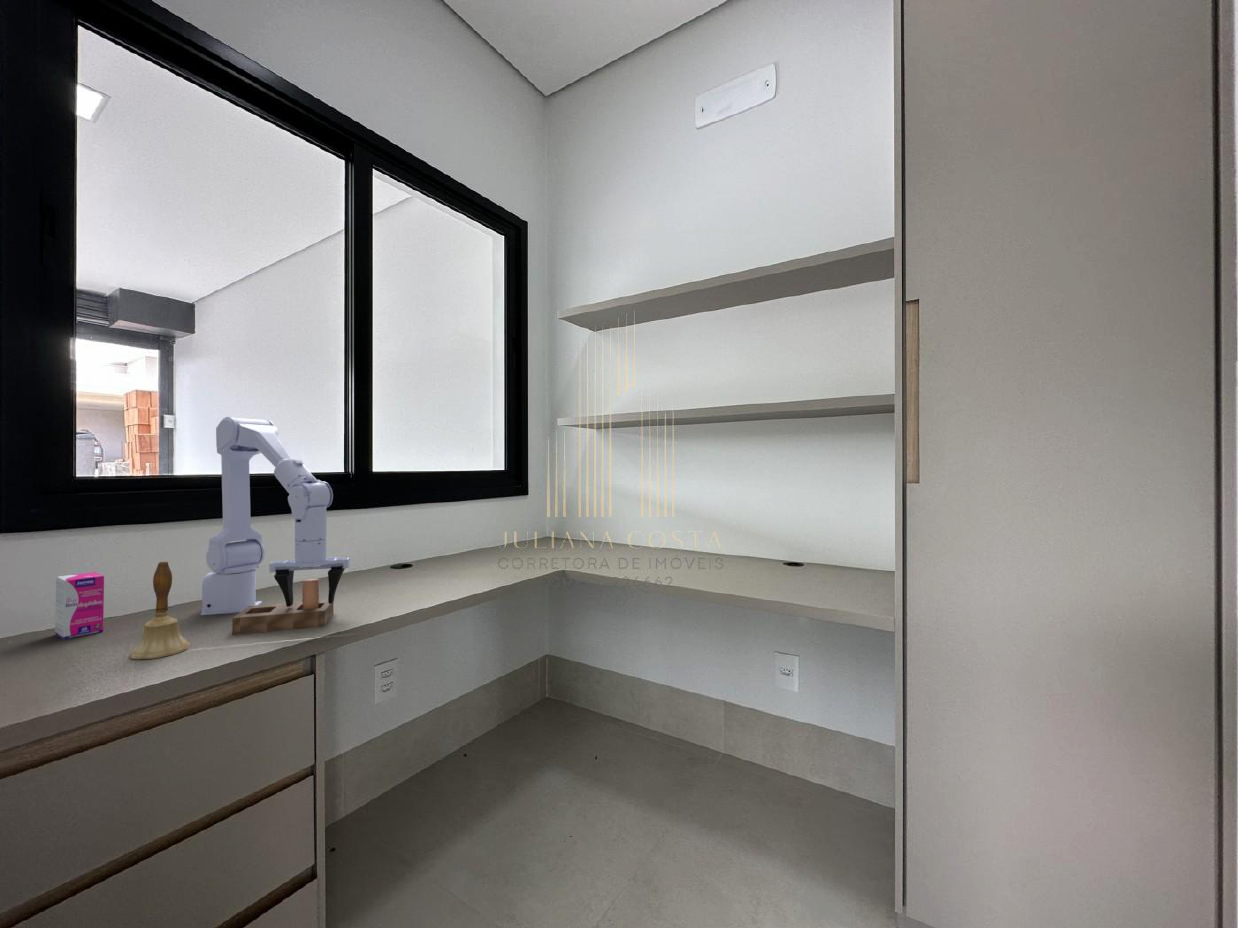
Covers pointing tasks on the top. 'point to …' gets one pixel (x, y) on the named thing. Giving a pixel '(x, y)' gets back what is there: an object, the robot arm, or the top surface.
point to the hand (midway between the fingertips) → (310, 603)
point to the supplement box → (79, 605)
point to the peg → (310, 594)
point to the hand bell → (161, 623)
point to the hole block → (280, 617)
